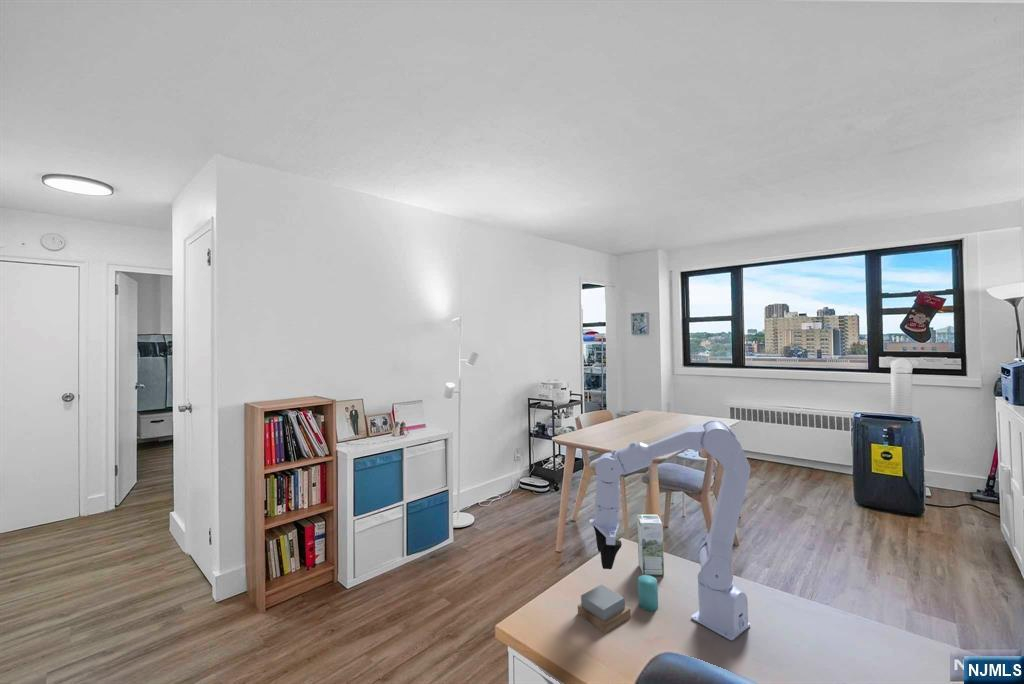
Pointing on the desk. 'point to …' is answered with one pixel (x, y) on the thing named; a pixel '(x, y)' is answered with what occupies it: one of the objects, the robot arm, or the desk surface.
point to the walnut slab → (606, 624)
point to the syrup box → (650, 544)
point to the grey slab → (603, 602)
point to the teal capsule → (648, 592)
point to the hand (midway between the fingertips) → (604, 559)
